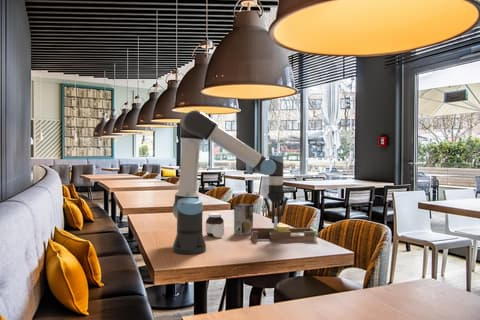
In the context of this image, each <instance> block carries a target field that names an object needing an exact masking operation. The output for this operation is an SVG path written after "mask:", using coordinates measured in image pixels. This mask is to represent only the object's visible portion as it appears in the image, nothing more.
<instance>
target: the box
mask: <svg viewBox="0 0 480 320" xmlns="http://www.w3.org/2000/svg"><path fill="white" fill-rule="evenodd" d="M317 233H318V231H317V230H316V229H315V228H314V227H313V226H310V227H289V231H276V230H274V227H253V228H251V234H250V239H251V241H252V242H253V243H256V242H257V243H258V242H276V243H277V242H278V243H279V242H283V243H285V242H286V243H287V242H290V243H292V242H293V243H294V242H295V243H297V242H300V243H303V242H304V243H305V242H307V243H308V242H310V243H311V242H315V243H317Z"/></svg>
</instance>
